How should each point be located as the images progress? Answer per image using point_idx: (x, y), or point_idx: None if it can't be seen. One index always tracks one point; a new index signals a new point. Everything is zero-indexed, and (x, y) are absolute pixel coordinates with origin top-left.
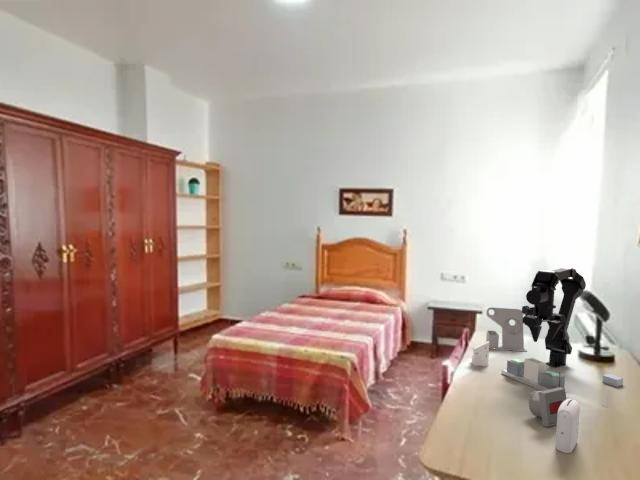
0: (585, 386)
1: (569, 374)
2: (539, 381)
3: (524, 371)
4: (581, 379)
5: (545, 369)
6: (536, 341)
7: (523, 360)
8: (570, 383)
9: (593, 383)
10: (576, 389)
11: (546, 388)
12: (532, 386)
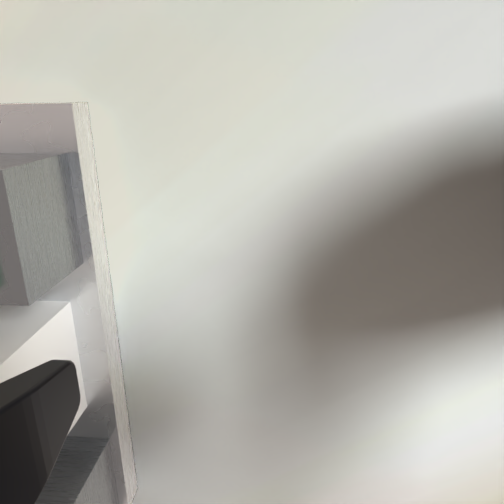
0: (348, 496)
1: (491, 334)
2: None
3: None
4: (461, 426)
5: None
6: (62, 416)
7: (14, 243)
8: (303, 434)
9: (458, 493)
10: (243, 496)
11: None
12: None
